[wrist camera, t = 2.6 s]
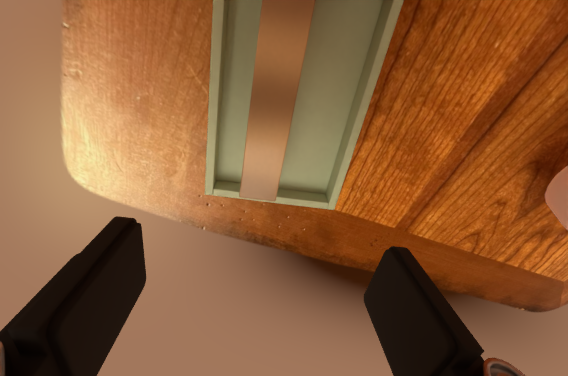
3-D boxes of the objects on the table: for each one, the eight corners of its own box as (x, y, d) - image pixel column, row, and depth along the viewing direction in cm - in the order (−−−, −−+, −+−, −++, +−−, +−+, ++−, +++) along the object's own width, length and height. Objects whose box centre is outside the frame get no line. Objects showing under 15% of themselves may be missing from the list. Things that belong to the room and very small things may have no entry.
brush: (311, 181, 20) (322, 207, 17) (235, 170, 19) (229, 196, 16) (398, -145, 12) (454, -228, 8) (273, -191, 11) (278, -305, 8)
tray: (209, 183, 20) (204, 194, 18) (232, -260, 10) (226, -320, 9) (328, 198, 22) (334, 210, 20) (445, -175, 12) (474, -212, 10)
